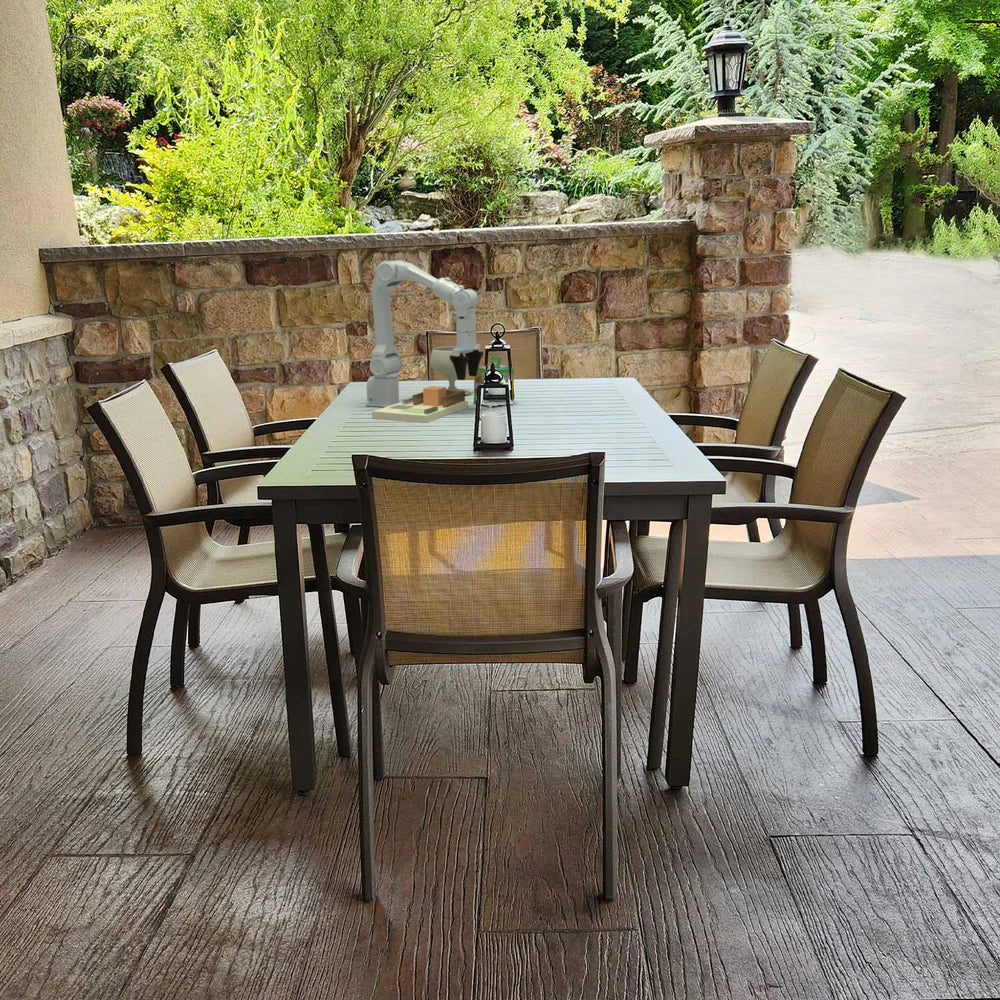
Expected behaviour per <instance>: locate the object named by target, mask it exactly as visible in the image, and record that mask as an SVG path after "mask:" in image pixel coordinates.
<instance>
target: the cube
mask: <svg viewBox="0 0 1000 1000" xmlns="http://www.w3.org/2000/svg"><path fill="white" fill-rule="evenodd" d="M446 389H447V386H436V385H435V386H433V385H430V386H427V387H424V388H423V389H422V392H423V400H424V405H427V406H441V405H443V399H442V397H445V396H446Z"/></svg>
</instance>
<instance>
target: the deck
mask: <svg viewBox="0 0 1000 1000" xmlns="http://www.w3.org/2000/svg"><path fill="white" fill-rule="evenodd" d="M399 402H400V403H397V404H394V405H391V406H388V407H380V408H378V409H375V410H373V411H371V418H372V419H379V420H389V421H401V422H412V423H413V422H414V423H422V424H423V423H425V424H427V423H429V422H432V421H435V420H437V419H440V418H444V417H446V416H449V415H451V414H455V413H457V412H459V411H462V410H464V409H468V408H469V401H468V400H465V401H463V402H460V403H457V404H454V405H452V406H449V407H446V408H445V407H443V405H441V406H435V407H438V411H436V412H433V413H430V414H424V410H425V409H428V408H431V407H434V406H427V405H424V403H422V404H419V405H413V402H412V403H409V404H406V405H405V404H402V401H399Z"/></svg>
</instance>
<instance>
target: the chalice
mask: <svg viewBox="0 0 1000 1000" xmlns="http://www.w3.org/2000/svg"><path fill="white" fill-rule="evenodd" d="M456 347H457V345H456V346H455V345H453V346H451V345H450V346H438V347H434V348H433V350H432V351H431V353H430V359H429V365H430V367H431V369H432V370H433V371H434V372H437V374H440V375H442V376H443V377H444V378H446V379H447V381H448V387H446V390H458V391H465V396H466V395H470V394H471V393H472V392H471V391H470V390H467V389H461V388H460V389H459V388H457V387H456V380H458V379H457V375H456V371H455V368H454V365H453V363H452V361H451V360H450V355H452V349H455V348H456ZM463 356H465V354H463ZM466 372H468V364H467V366H466Z"/></svg>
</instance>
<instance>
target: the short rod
mask: <svg viewBox="0 0 1000 1000" xmlns="http://www.w3.org/2000/svg"><path fill="white" fill-rule="evenodd" d="M436 411H438V407H435V406H434V407H431V408H428V409H425V410H424V414H430V413H433V412H436Z"/></svg>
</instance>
